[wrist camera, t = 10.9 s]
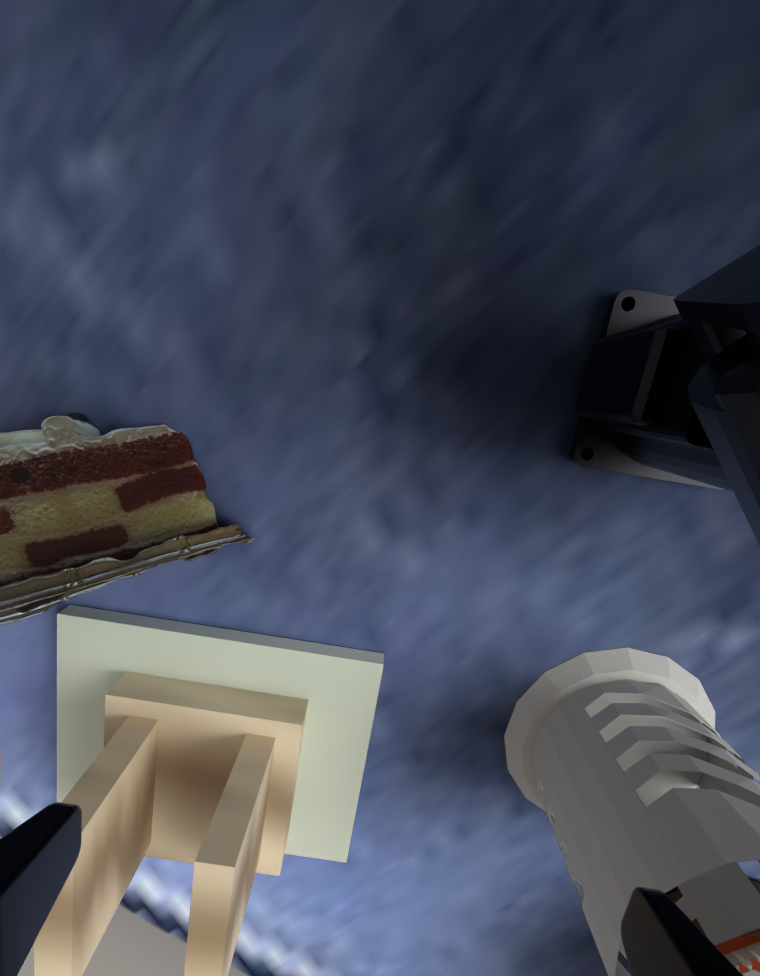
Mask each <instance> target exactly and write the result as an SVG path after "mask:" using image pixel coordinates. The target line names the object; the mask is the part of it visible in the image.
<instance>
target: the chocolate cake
mask: <svg viewBox="0 0 760 976" xmlns="http://www.w3.org/2000/svg"><path fill="white" fill-rule="evenodd" d="M41 428H42V430H21V431H14V432H7V433H0V625H3V624H5V623H7V624H8V623H11V622H16V621H20V620H22V619H25V618H27V617H31V616H34V615H35V614H36V615H37V614H39V615H40V614H41V613H44V612H45V611H47V609H49V608H50V607H52V606H53V605H55V604H58V603H61V602H65V601H67V600H69V599H71V598H73V597H75V596H78V595H80V594H83V593H86V592H89V591H91V590H95V589H98V588H100V587H104V586H106V585H107V584H109V583H110V582H113V581H115V580H117V579H118V578H119V579H125V578H127V577H134V576H135V575H140V574H142V573H143V572H145V571H146V570H148V569H149V568H152V567H156V566H157V565H158V564H161V563H169V562H172V561H175V560H179V559H184V560H186V561H192V560H195V559H197V558H200V557H204V556H206V555H211V554H213V553H215V552H216V551H217V550H218V548H221V546H224V545H227V544H235V543H238V542H239V543H248V542H250V541H252V540H254V539H253V538H249V537H247V536H246V535H245V534H244V533H243V530H242V528H241V527H240V525H239V524H232V525H230V526H227V527H220V528H219V526H218V524H217V522H216V515H215V507H214V504H213V503H212V502H211V501H210V500H209V499H208V498H207V496H206V494H205V489H206V485H205V480H204V477H203V475H202V474H201V472H200V470H199V465H198V463H197V462H196V461H195V459H194V457H193V452H192V448H191V445H190V443H189V440H188V438H187V437H186V436H185V435H183V434H182V433H181V432H179V431H175V430H173V429H171V428H169V427H168V426H167V425H158V426H147V427H138V428H122V429H117V430H113V431H111V432H109V433H107V434H106V435H103V436H101V435H100V432H99V430H98V429H97V428H95V427H93V426H92V425H91V424H90V422H89V420H88V418H87V417H86V416H85V415H82V414H79V413H70V414H68V415H67V416H51V417H49V418H46V419H45V420H44V421H43V422H42V424H41Z"/></svg>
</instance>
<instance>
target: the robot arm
mask: <svg viewBox="0 0 760 976" xmlns="http://www.w3.org/2000/svg"><path fill="white" fill-rule="evenodd" d="M623 299H626V300H628V302H629V309H628V311H624V310H623V309H622V307H621V302H622V300H623ZM576 410H577V412H578V414H579V420H578V424H577V428H576V432H575V435H574V439H573V443H572V447H571V451H570V456H571V459H572V461H573V462H574V463H576V464H578V465H581V466H583V467H589V468H595V469H601V470H607V471H613V472H619V473H625V474H631V475H637V476H643V477H649V478H655V479H661V480H667V481H672V482H678V483H684V484H690V485H696V486H702V487H708V488H714V489H720V490H730V491H733V492H734V493H735V495H736V497H737V499H738V501H739V503H740V505H741V507H742V510H743V512H744V514H745V516H746V518H747V520H748V522H749V524H750V526H751V528H752V530H753V532H754V534H755V537H756V539H757V541H758V543H759V545H760V245H759V246H757V247H756V248H754V249H753V250H751V251H749V252H748V253H746V254H745V255H743V256H741V257H740V258H738V259H736V260H735V261H733V262H732V263H730V264H728V265H727V266H725V267H724V268H722V269H720V270H719V271H717V272H716V273H714V274H712V275H711V276H709V277H708V278H706V279H704V280H703V281H701V282H700V283H698V284H696V285H695V286H693V287H692V288H690V289H688V290H687V291H685V292H684V293H682V294H680V295H679V296H677V297H674V296H668V295H663V294H657V293H651V292H646V291H640V290H634V289H626V290H624V291H622V292H619V293H617V294H615V295H614V296H613V298H612V299H611V301H610V303H609V306H608V310H607V314H606V318H605V322H604V325H603V329H602V333H601V337H600V339H599V340H598V341H597V342H595V343H594V344H593V345H592V348H591V352H590V356H589V360H588V364H587V368H586V371H585V375H584V379H583V383H582V387H581V391H580V394H579V398H578V402H577V406H576ZM585 448H588V449H589V455H588V457H586V458H585V459H582V458H581V452H582V450H583V449H585ZM81 838H82V809H81V808H80V806H79V805H75V804H68V803H61V802H56V803H53V804H51V805H49V806H47V807H45V808H44V809H43V810H41V811H40V812H38V813H37V814H35V815H34V816H33V817H31V818H30V819H28V820H27V821H25V822H24V823H23V824H21V825H20V826H18V827H17V828H15V829H14V830H13V831H11V832H10V833H8V834H7V835H5V836H4V837H3V838H1V839H0V976H17V974H18V973H19V971H20V969H21V967H22V965H23V963H24V961H25V959H26V957H27V955H28V953H29V952H30V949H31V948H32V946H33V944H34V942H35V940H36V938H37V936H38V934H39V932H40V930H41V928H42V927H43V925H44V923H45V921H46V919H47V917H48V915H49V913H50V911H51V909H52V907H53V905H54V904H55V902H56V900H57V898H58V896H59V894H60V892H61V890H62V888H63V886H64V884H65V882H66V880H67V879H68V877H69V875H70V873H71V871H72V869H73V867H74V865H75V863H76V861H77V858H78V856H79V853H80V849H81ZM621 938H622V943H623V947H624V950H625V954H626V958H627V961H628V965H629V968H630V972H631V975H632V976H743V975H742V974H741V972H740V971H739V970H738V969H737V968H736V967H735V966H734V965H733V964H732V963H731V962H730V961H729V960H728V959H727V958H726V957H725V956H724V955H723V953H722V952H721V951H720V950H719V949H718V948H717V947H716V946H715V945H714V944H713V943H712V942H711V941H710V940H709V939H708V938H707V937H706V935H705V934H704V933H703V932H702V931H701V930H700V929H699V928H698V927H697V926H696V925H695V924H694V923H693V922H692V921H691V920H690V919H689V917H688V916H687V915H686V914H685V913H684V912H683V911H682V910H681V909H680V908H679V907H678V906H677V905H676V904H675V903H674V902H673V901H672V900H671V898H670V897H669V896H667V895H666V894H665V893H664V892H662V891H660V890H657V889H652V888H645V887H637V888H635V889H634V890H633V892H632V894H631V897H630V899H629V902H628V905H627V907H626V910H625V913H624V915H623V918H622V921H621Z"/></svg>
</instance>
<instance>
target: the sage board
mask: <svg viewBox="0 0 760 976" xmlns="http://www.w3.org/2000/svg"><path fill="white" fill-rule="evenodd" d="M383 666H384V653H378V652H371V651H365V650H358V649H352V648H346V647H339V646H333V645H326V644H320V643H314V642H307V641H301V640H294V639H288V638H281V637H275V636H269V635H262V634H256V633H249V632H243V631H237V630H230V629H224V628H217V627H211V626H204V625H198V624H192V623H185V622H179V621H172V620H166V619H160V618H153V617H147V616H140V615H134V614H127V613H121V612H115V611H108V610H102V609H95V608H89V607H83V606H76V605H69V606H68V607H66V608H65V609H63V610H62V611H60V612H59V613H57V802H62V801H63V799H64V798H65V797H66V795H67V794H68V793H69V792H70V790H71V789H72V788H73V787H74V785H75V784H76V783H77V781H78V780H79V779H80V778H81V776H82V775H83V774H84V773H85V771H86V770H87V769H88V767H89V766H90V765H91V764H92V762H93V761H94V760H95V759H96V757H97V756H98V755H99V753H100V752H101V751H102V750H103V748H104V724H105V695H106V694H107V692H108V691H109V690H110V689H111V688H112V687H113V686H114V685H115V684H116V683H117V682H118V680H119V679H120V678H121V677H122V676H123V675H124V674H125V673H126V672H127V671H129V672H135V673H142V674H148V675H154V676H161V677H167V678H174V679H180V680H186V681H193V682H199V683H206V684H212V685H218V686H225V687H231V688H238V689H244V690H251V691H257V692H263V693H270V694H276V695H283V696H289V697H295V698H302V699H308V700H309V702H308V708H307V715H306V721H305V728H304V734H303V741H302V747H301V754H300V760H299V767H298V773H297V780H296V787H295V793H294V800H293V806H292V813H291V819H290V826H289V832H288V839H287V844H286V849H285V853H284V854H290V855H297V856H304V857H311V858H318V859H325V860H331V861H338V862H345V863H346V862H347V857H348V852H349V846H350V841H351V836H352V830H353V825H354V820H355V815H356V809H357V804H358V799H359V793H360V788H361V783H362V777H363V772H364V767H365V762H366V756H367V751H368V746H369V740H370V735H371V730H372V725H373V719H374V714H375V709H376V703H377V698H378V693H379V687H380V682H381V677H382V672H383Z"/></svg>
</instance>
